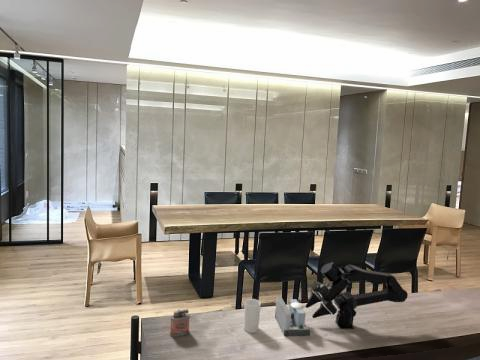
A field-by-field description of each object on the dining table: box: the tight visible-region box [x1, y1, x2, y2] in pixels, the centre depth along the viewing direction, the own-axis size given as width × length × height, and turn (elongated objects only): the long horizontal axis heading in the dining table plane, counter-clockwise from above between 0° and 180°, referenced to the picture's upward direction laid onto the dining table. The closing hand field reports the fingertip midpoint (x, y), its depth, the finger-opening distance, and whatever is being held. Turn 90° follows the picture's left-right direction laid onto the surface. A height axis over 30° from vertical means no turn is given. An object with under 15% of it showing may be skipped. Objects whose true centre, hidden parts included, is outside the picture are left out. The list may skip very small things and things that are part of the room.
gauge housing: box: [274, 295, 311, 337], centre depth 176 cm, size 11×17×10 cm, turn 9°
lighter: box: [169, 308, 191, 337], centre depth 164 cm, size 8×3×10 cm, turn 117°
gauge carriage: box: [288, 298, 306, 328], centre depth 175 cm, size 6×15×9 cm, turn 9°
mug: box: [243, 298, 262, 333], centre depth 173 cm, size 10×7×12 cm, turn 10°
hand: (309, 312), depth 177 cm, fingers open, 9 cm apart
